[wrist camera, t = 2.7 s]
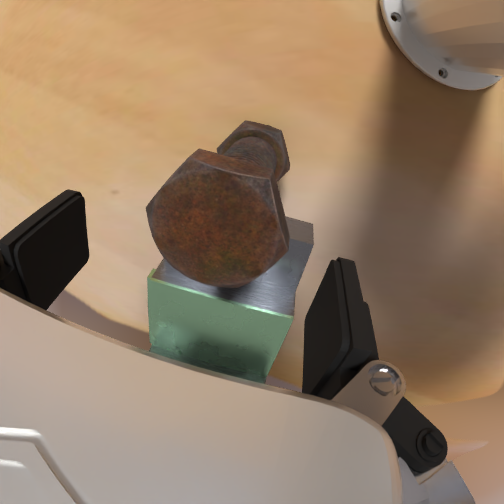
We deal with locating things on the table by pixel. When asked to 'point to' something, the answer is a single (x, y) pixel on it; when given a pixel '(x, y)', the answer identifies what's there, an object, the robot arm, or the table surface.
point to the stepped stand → (228, 314)
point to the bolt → (225, 209)
